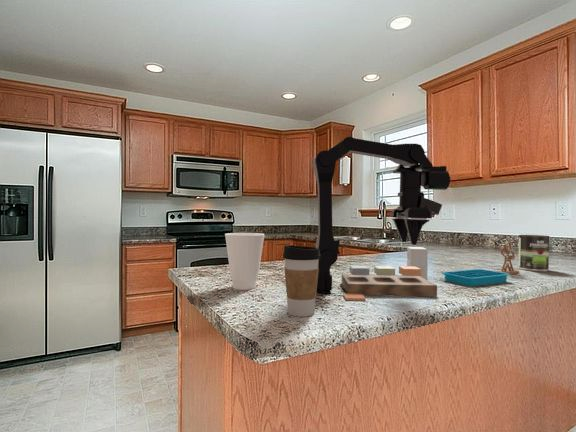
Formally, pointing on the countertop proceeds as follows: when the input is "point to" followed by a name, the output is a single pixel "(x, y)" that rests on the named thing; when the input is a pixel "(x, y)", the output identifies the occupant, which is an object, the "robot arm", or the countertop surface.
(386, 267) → the sage button
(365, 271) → the slate button
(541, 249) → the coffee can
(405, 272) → the terracotta button
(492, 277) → the ice cube tray
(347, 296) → the tile
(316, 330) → the countertop surface
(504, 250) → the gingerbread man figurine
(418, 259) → the small box
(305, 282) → the coffee cup
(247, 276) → the cup
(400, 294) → the wooden sorting tray
